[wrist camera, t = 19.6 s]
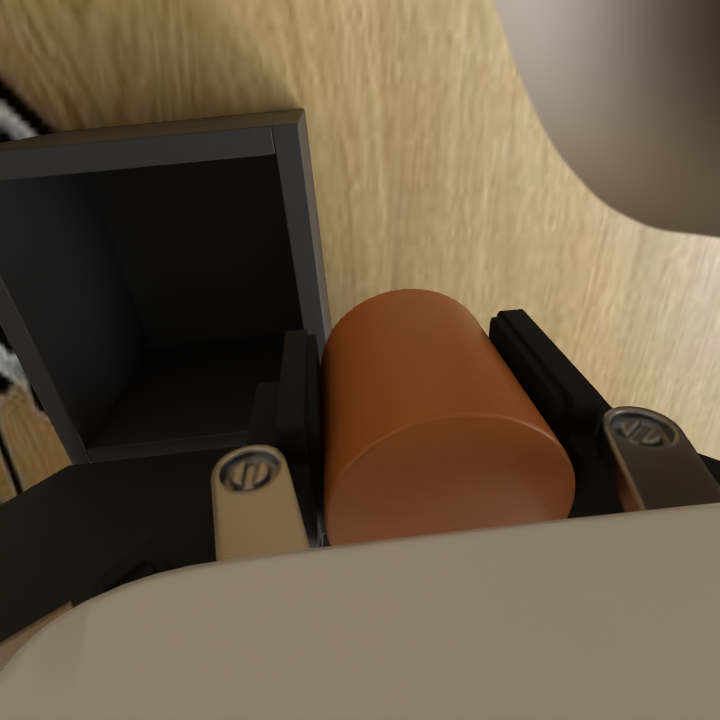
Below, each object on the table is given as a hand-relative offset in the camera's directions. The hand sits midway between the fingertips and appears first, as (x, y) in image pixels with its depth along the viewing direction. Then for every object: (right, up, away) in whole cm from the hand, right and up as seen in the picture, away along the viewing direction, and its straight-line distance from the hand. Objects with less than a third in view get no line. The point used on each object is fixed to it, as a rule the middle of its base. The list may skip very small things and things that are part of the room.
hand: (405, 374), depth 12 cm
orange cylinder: (0, 0, 0) cm, 0 cm away
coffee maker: (-11, +8, +19) cm, 24 cm away
